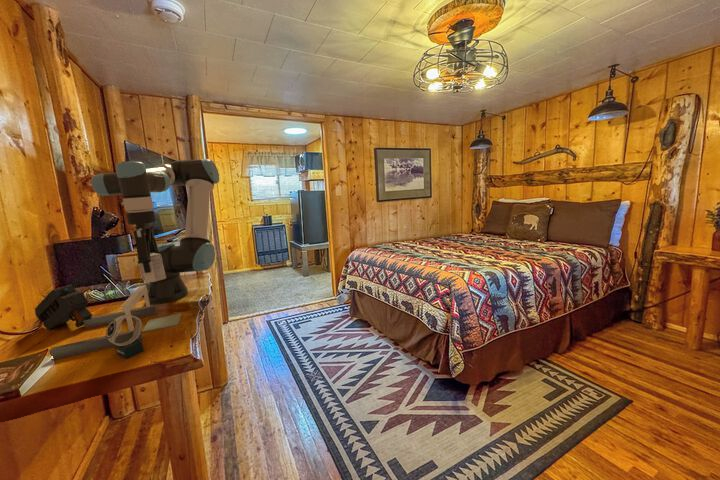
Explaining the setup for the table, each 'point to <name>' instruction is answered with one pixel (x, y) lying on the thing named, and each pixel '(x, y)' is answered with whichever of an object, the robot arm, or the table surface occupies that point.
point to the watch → (127, 346)
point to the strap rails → (100, 341)
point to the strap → (133, 300)
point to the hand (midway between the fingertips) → (153, 278)
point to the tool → (63, 307)
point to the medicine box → (155, 267)
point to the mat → (162, 322)
